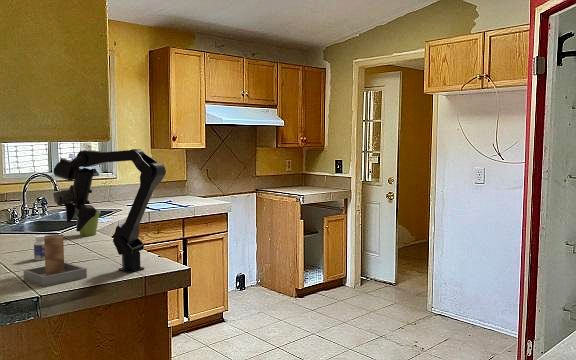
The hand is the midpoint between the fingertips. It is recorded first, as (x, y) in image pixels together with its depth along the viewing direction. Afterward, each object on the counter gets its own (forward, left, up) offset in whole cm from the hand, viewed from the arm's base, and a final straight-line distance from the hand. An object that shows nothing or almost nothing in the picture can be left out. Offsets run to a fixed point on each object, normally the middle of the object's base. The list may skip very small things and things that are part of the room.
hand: (73, 226), depth 176 cm
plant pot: (+57, -36, -15) cm, 69 cm away
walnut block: (-11, +12, -14) cm, 21 cm away
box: (-11, +12, -14) cm, 21 cm away
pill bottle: (+22, +2, -15) cm, 26 cm away
